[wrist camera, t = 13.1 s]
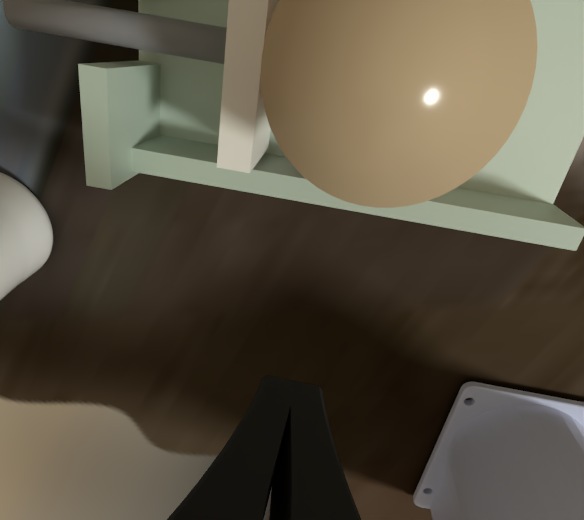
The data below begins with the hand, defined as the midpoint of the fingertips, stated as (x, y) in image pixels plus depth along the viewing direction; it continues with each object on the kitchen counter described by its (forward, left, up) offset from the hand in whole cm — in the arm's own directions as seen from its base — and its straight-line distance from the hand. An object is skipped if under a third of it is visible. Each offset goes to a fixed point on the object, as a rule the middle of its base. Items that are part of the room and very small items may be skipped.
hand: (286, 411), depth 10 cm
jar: (+7, -1, -9) cm, 12 cm away
